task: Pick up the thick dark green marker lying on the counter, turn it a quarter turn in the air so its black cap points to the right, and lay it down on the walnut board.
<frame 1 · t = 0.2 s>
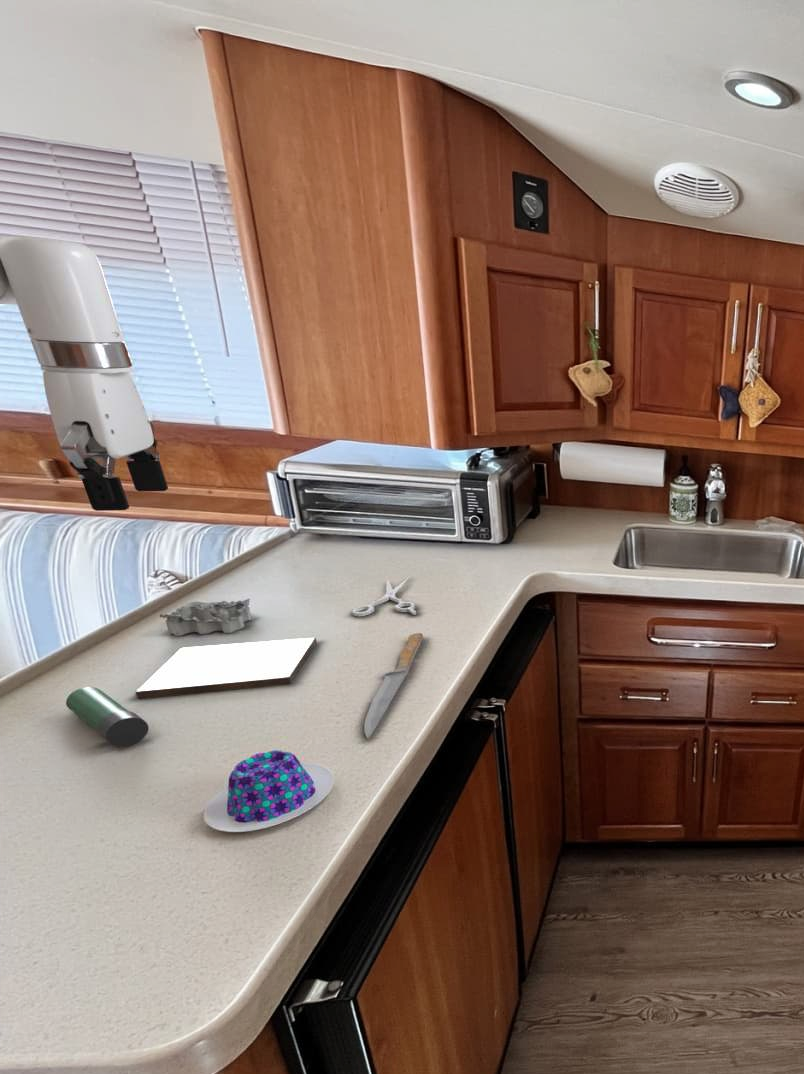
hand: (133, 499, 81), 29 cm above the table, tool pointing down, fingers open, 9 cm apart
knife: (393, 684, 99), on the table
egg carton: (212, 626, 112), on the table
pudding: (274, 801, 75), on the table
marker: (110, 726, 85), on the table
scissors: (391, 598, 128), on the table
board: (235, 668, 100), on the table
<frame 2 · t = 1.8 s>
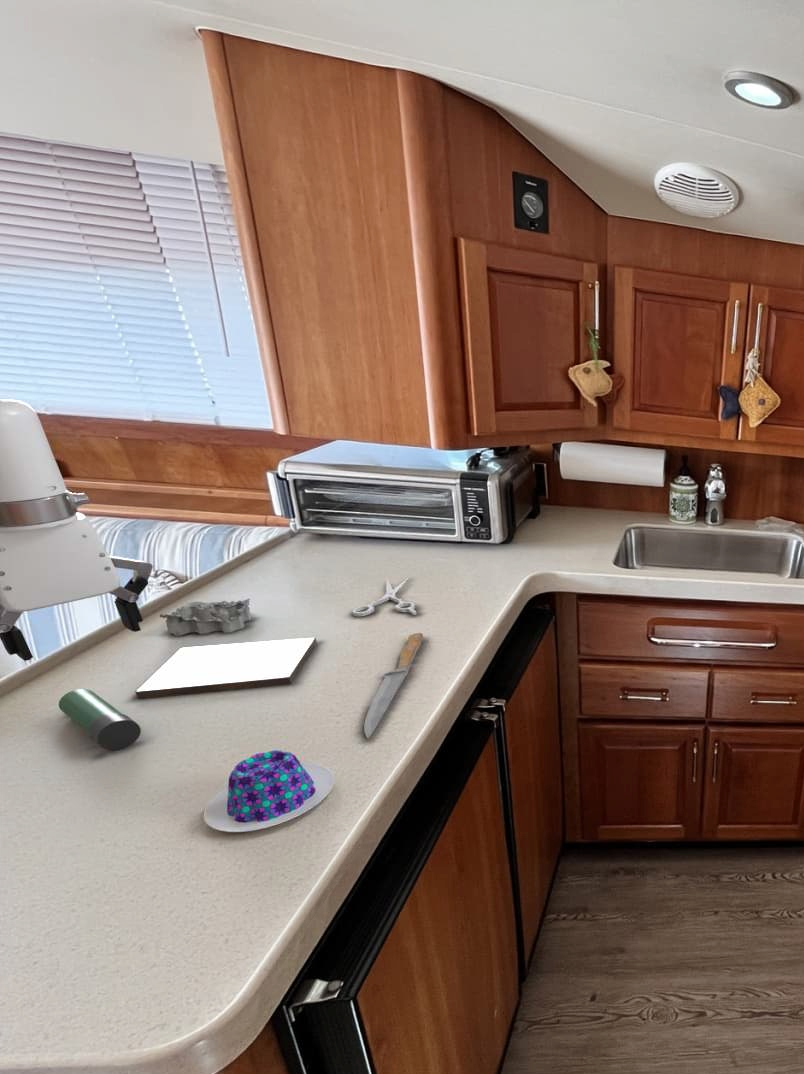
hand: (81, 642, 80), 13 cm above the table, tool pointing down, fingers open, 9 cm apart
marker: (109, 725, 84), on the table, tilted 23°
everything else where it was.
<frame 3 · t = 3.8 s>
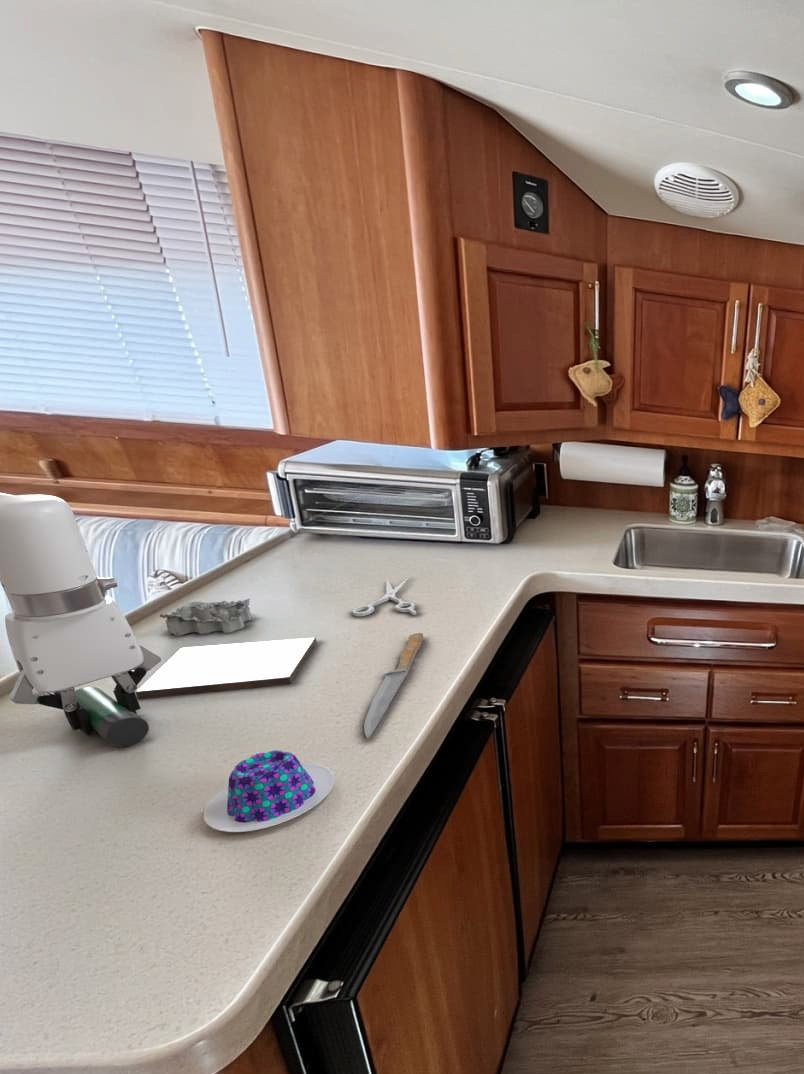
hand: (108, 722, 84), 1 cm above the table, tool pointing down, fingers closed on marker, 3 cm apart
marker: (112, 725, 85), on the table, tilted 6°, touching gripper
everything else where it was.
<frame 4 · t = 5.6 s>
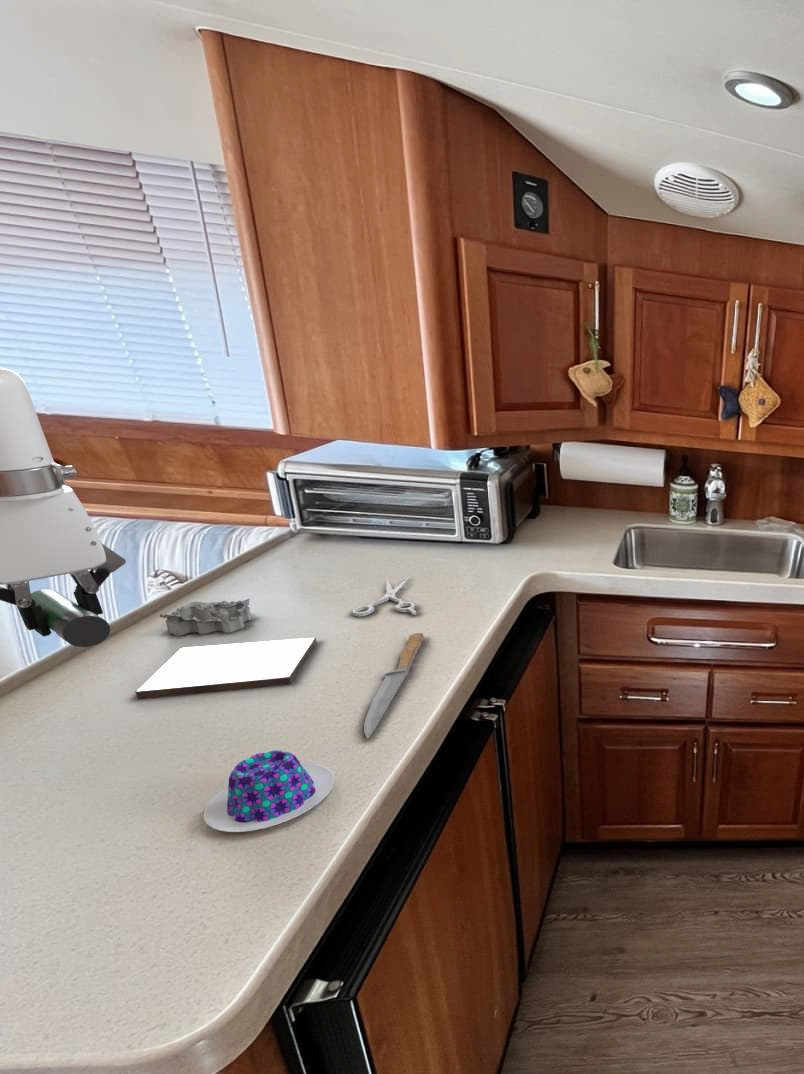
hand: (67, 625, 79), 15 cm above the table, tool pointing down, fingers closed on marker, 3 cm apart
marker: (71, 629, 79), point 14 cm above the table, tilted 6°, touching gripper
everything else where it was.
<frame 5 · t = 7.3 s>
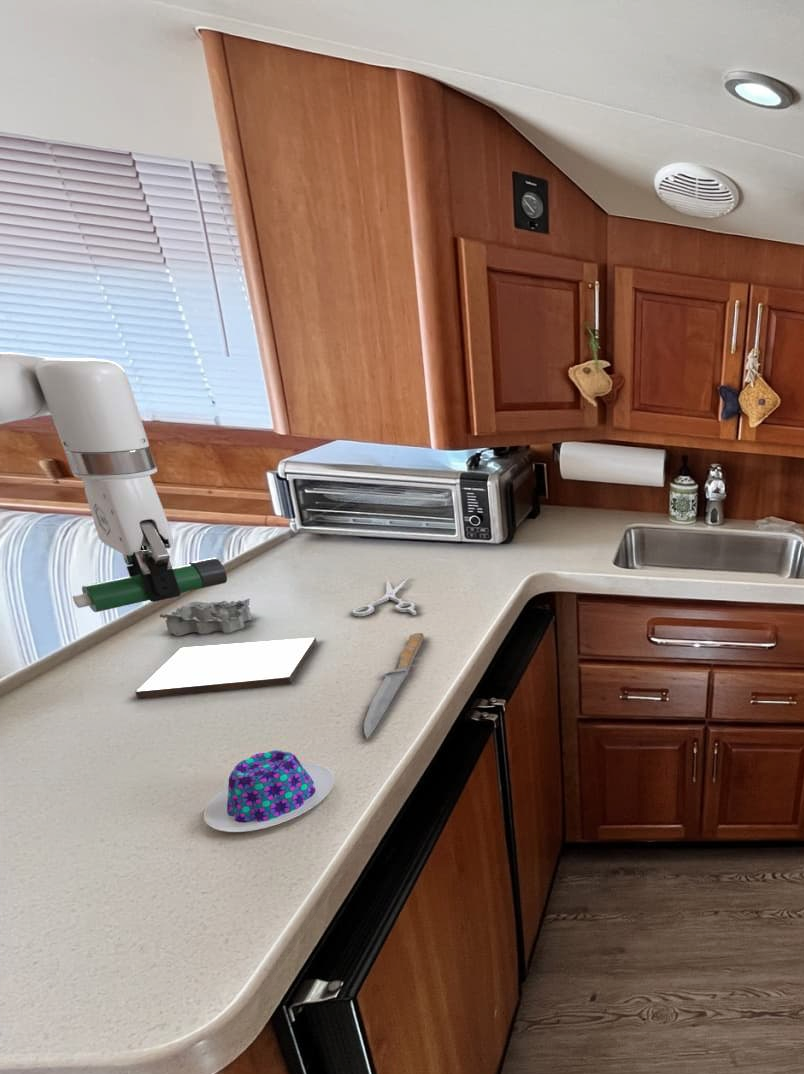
hand: (158, 593, 88), 16 cm above the table, tool pointing down, fingers closed on marker, 3 cm apart
marker: (158, 596, 88), point 15 cm above the table, tilted 6°, touching gripper
everything else where it was.
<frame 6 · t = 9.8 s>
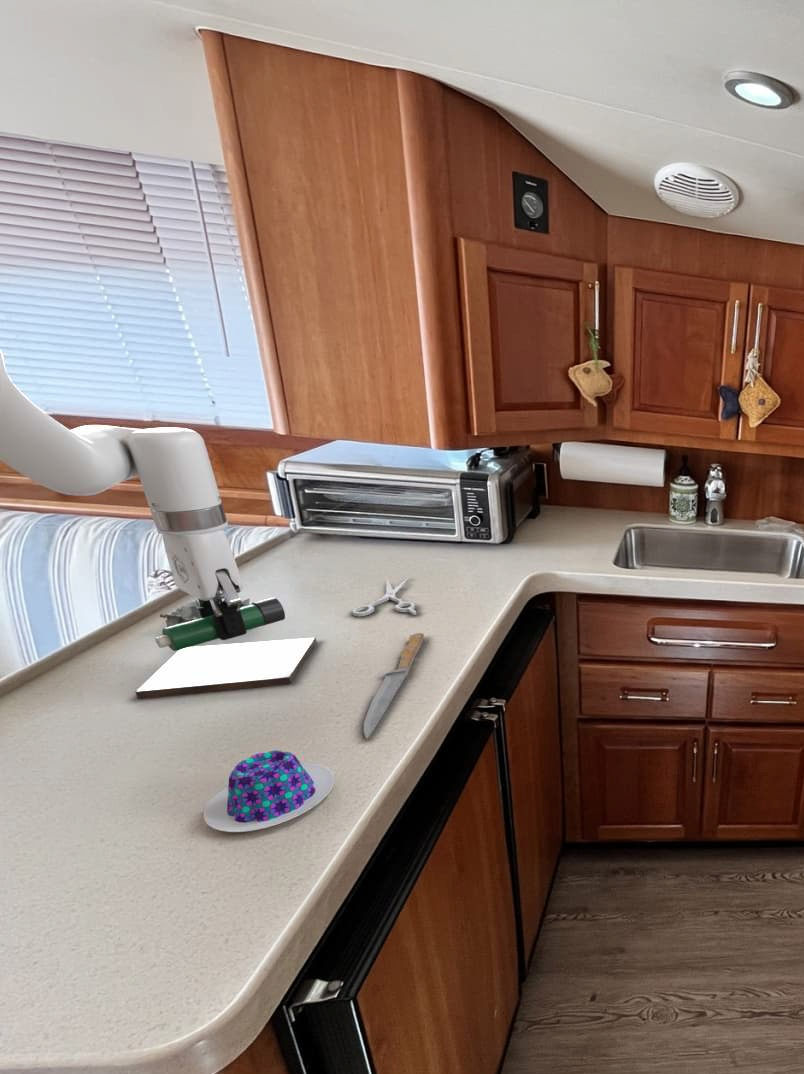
hand: (226, 631, 97), 6 cm above the table, tool pointing down, fingers closed on marker, 3 cm apart
marker: (226, 634, 98), point 6 cm above the table, tilted 6°, touching gripper
everything else where it was.
when the fingers open (2 cm above the table, at t = 11.2 s): marker stays where it is, resting on board.
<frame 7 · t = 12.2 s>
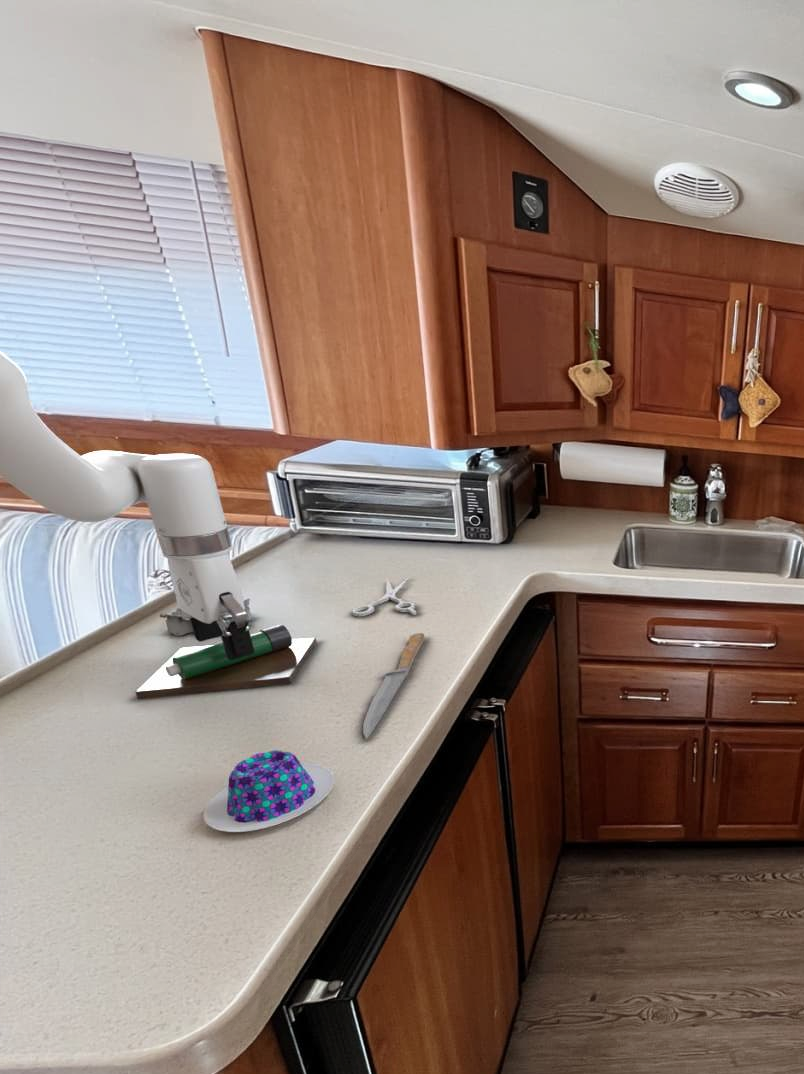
hand: (225, 647, 98), 4 cm above the table, tool pointing down, fingers open, 9 cm apart
marker: (234, 661, 99), point 1 cm above the table, tilted 14°, touching board
everything else where it was.
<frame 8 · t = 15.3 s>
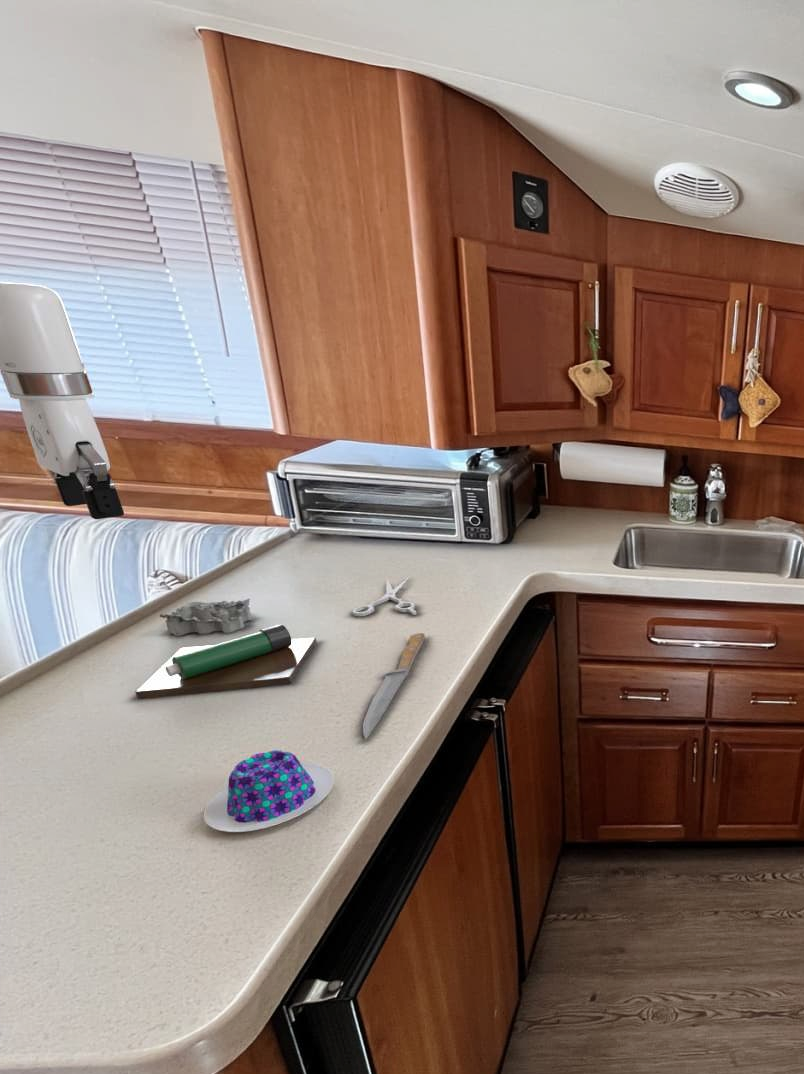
hand: (94, 510, 91), 24 cm above the table, tool pointing down, fingers open, 9 cm apart
nothing on the table moved.
at the end: marker inside the target area on the board (0.2 cm from its centre), point 1.2 cm above the board's base; marker touching board; the gripper is holding nothing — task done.
